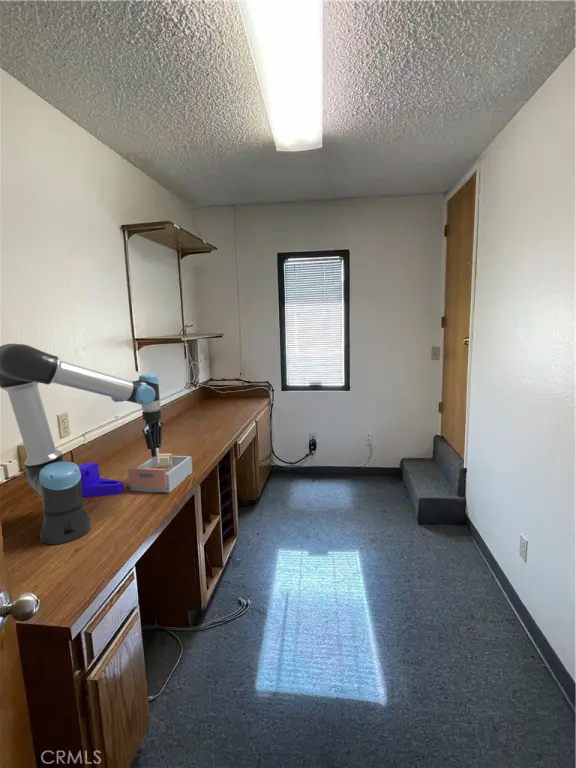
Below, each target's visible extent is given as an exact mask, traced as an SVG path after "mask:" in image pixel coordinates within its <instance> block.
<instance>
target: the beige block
mask: <svg viewBox="0 0 576 768" xmlns="http://www.w3.org/2000/svg"><path fill="white" fill-rule="evenodd" d="M172 456H173V453H159V460H160V462H159V463H158V464H157V463H155V466H156V469H166V472H169V471H171V469H172V468H173V463H172Z"/></svg>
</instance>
